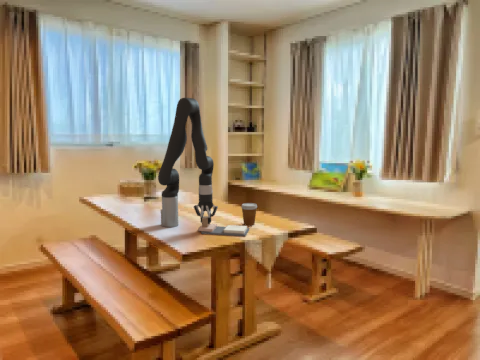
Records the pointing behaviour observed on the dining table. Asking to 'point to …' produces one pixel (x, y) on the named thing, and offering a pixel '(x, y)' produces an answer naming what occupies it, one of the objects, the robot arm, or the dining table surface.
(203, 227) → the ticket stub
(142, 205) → the dining table surface
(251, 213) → the disposable coffee cup
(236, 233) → the ticket base
